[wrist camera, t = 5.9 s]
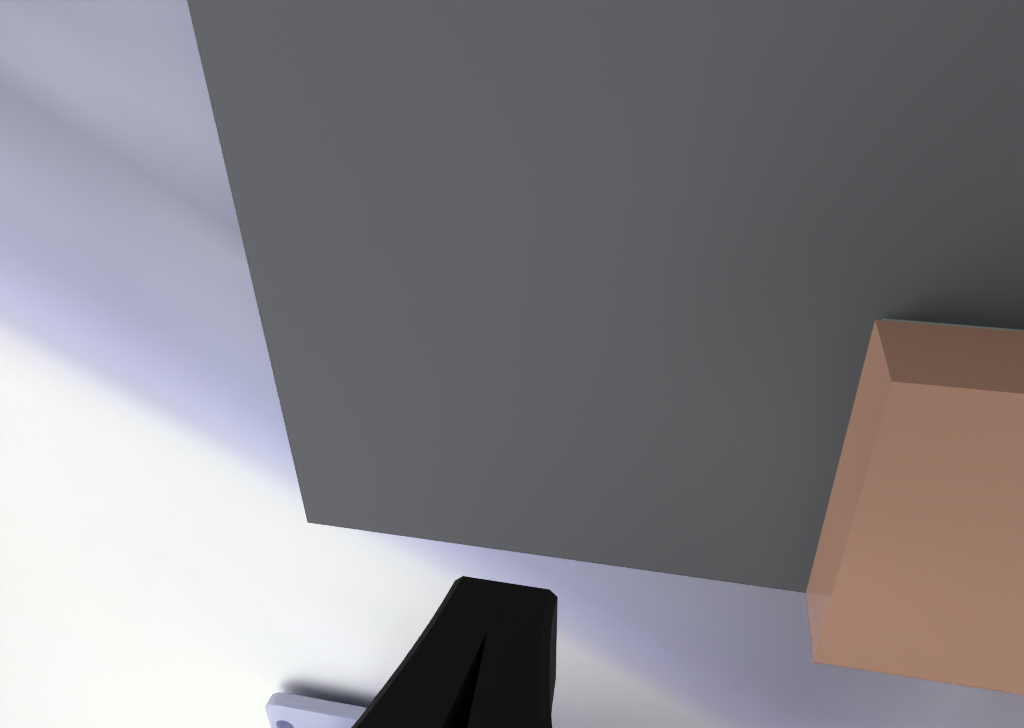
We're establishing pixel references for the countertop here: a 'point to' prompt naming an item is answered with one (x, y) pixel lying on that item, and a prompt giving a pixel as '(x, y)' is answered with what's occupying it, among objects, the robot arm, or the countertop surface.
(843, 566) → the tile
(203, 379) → the countertop surface
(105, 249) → the countertop surface
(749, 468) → the mat
